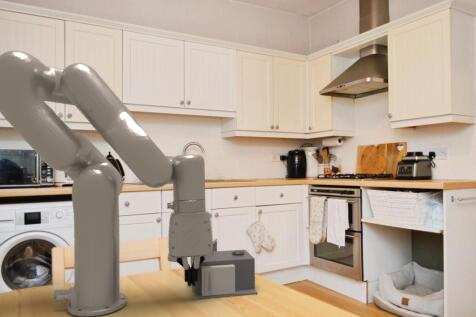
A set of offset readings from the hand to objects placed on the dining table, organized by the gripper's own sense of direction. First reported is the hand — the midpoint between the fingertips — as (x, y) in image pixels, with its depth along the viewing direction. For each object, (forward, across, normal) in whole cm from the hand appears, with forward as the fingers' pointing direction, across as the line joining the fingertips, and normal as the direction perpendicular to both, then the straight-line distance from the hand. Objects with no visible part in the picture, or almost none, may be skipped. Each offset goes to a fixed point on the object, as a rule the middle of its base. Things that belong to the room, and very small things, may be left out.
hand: (191, 284), depth 88 cm
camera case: (+4, +8, +6) cm, 11 cm away
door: (+3, +7, 0) cm, 7 cm away
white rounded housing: (+4, +5, +18) cm, 19 cm away
